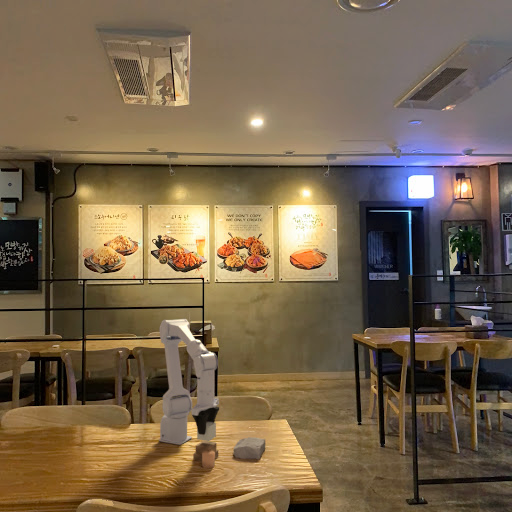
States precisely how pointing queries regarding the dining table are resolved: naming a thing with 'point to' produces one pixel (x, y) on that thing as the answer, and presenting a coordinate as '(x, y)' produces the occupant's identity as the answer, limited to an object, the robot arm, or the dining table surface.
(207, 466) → the tan rounded block
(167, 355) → the robot arm
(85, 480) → the dining table surface
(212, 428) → the blue-grey cube
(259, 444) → the stone block
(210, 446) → the walnut block
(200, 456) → the walnut slab
